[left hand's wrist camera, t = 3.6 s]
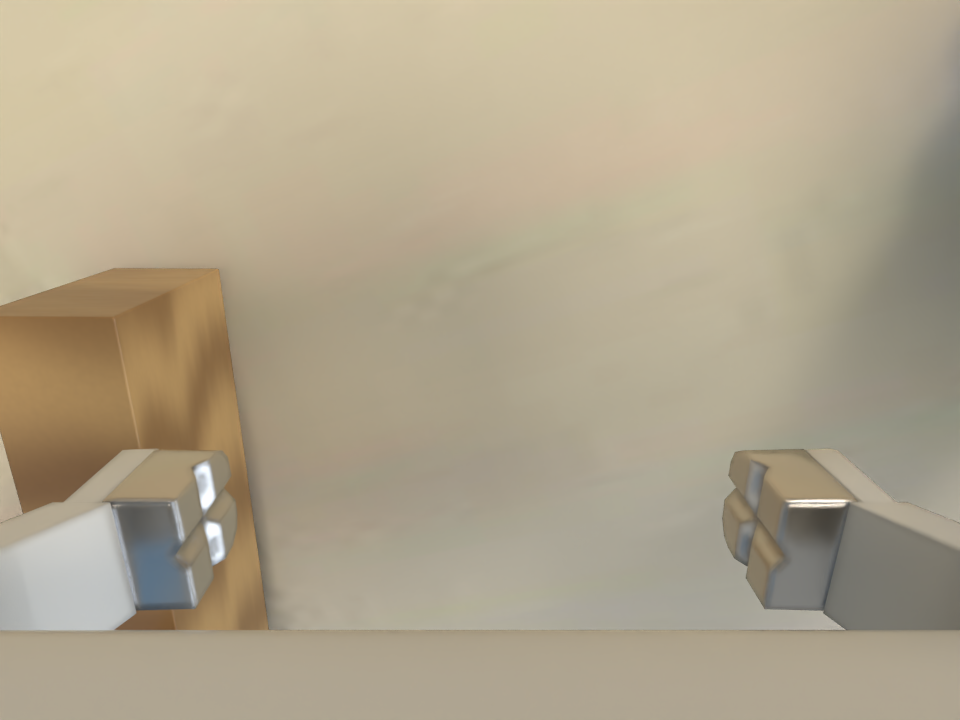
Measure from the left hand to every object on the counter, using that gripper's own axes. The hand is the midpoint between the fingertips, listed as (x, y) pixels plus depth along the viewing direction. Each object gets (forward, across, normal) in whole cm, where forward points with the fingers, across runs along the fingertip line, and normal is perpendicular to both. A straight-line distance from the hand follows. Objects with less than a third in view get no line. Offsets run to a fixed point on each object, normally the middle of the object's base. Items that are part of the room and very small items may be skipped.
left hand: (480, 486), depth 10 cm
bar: (+22, -16, -14) cm, 30 cm away
